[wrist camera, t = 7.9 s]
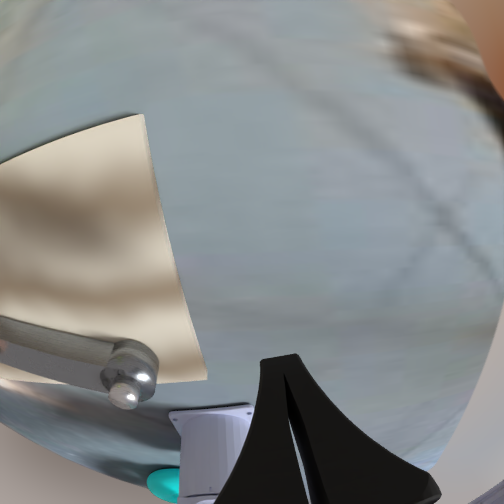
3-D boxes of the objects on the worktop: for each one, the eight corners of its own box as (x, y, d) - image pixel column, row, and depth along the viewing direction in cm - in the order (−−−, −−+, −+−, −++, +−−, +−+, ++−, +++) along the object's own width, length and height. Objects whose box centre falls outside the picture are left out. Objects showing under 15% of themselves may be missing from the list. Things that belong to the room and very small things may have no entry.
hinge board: (207, 370, 23) (207, 379, 22) (1, 372, 22) (-2, 378, 21) (143, 114, 15) (139, 114, 14) (-75, 208, 14) (-81, 212, 13)
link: (158, 344, 20) (149, 387, 16) (160, 380, 22) (154, 421, 18) (-14, 307, 18) (-38, 335, 14) (-1, 343, 19) (-20, 372, 16)
